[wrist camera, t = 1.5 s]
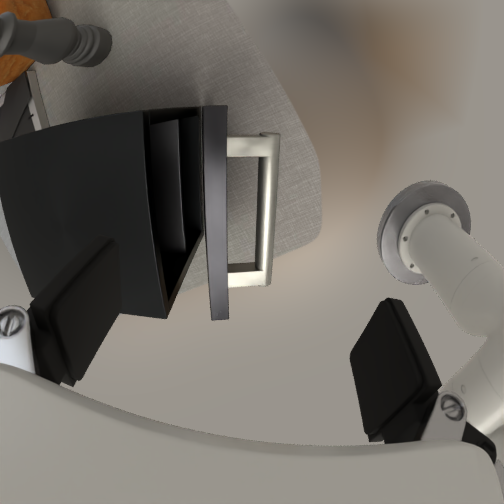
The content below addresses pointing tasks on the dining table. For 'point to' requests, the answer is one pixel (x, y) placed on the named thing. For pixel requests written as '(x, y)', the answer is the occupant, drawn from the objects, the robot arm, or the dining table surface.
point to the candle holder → (54, 40)
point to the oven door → (215, 206)
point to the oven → (109, 199)
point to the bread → (25, 8)
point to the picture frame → (22, 107)
